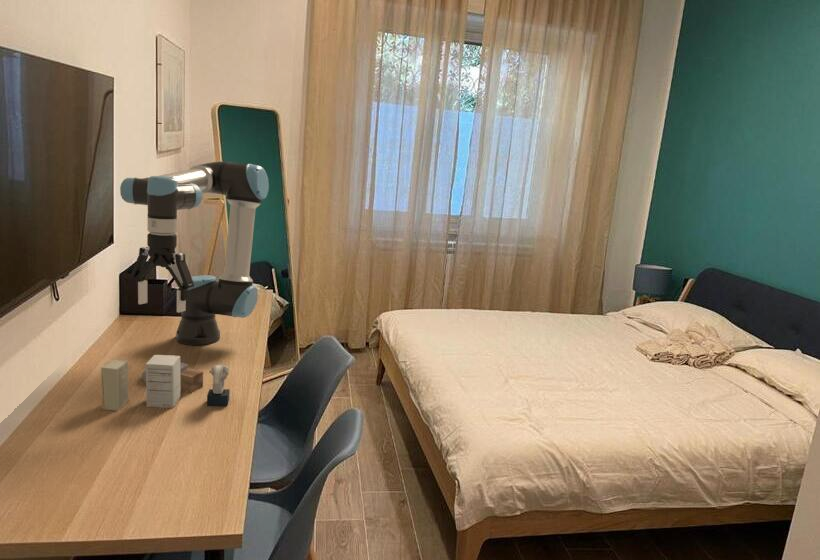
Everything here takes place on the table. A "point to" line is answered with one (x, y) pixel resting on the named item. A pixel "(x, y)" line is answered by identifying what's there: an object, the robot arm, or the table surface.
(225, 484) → the table surface
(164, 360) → the supplement box
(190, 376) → the walnut cube
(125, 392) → the skincare box
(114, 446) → the table surface
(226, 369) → the watch
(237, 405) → the table surface
